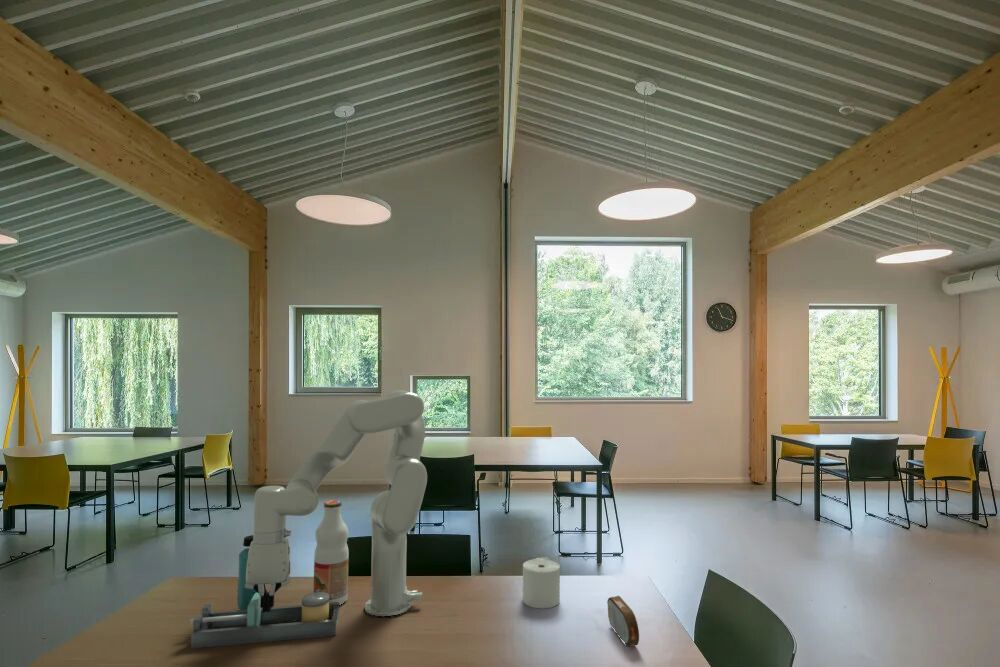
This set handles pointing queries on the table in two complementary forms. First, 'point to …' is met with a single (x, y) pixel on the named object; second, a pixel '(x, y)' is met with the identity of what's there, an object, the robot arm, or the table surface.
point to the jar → (315, 606)
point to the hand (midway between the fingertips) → (267, 609)
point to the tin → (623, 620)
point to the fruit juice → (332, 554)
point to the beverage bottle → (244, 577)
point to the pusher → (251, 616)
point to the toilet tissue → (541, 583)
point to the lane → (260, 627)
